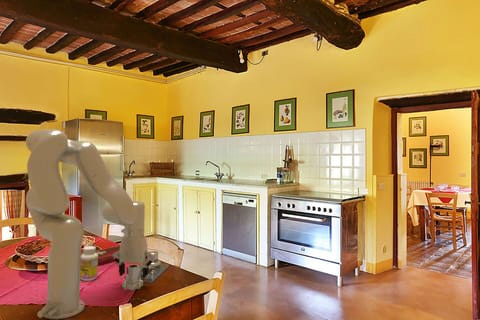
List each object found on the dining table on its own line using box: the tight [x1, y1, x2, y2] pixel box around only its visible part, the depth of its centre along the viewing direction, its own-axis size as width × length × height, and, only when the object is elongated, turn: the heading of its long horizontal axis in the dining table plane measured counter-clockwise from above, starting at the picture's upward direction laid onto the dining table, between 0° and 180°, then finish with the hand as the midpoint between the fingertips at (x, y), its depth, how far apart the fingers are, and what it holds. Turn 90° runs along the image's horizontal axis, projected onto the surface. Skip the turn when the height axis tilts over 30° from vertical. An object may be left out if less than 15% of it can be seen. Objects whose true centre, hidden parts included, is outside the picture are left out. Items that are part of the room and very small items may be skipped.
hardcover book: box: [81, 244, 121, 267], centre depth 165 cm, size 12×21×4 cm, turn 141°
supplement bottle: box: [80, 245, 99, 282], centre depth 139 cm, size 7×7×13 cm
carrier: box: [124, 250, 170, 284], centre depth 147 cm, size 19×12×8 cm, turn 172°
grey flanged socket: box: [121, 263, 144, 291], centre depth 133 cm, size 8×8×8 cm
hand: (133, 275), depth 133 cm, fingers open, 9 cm apart
